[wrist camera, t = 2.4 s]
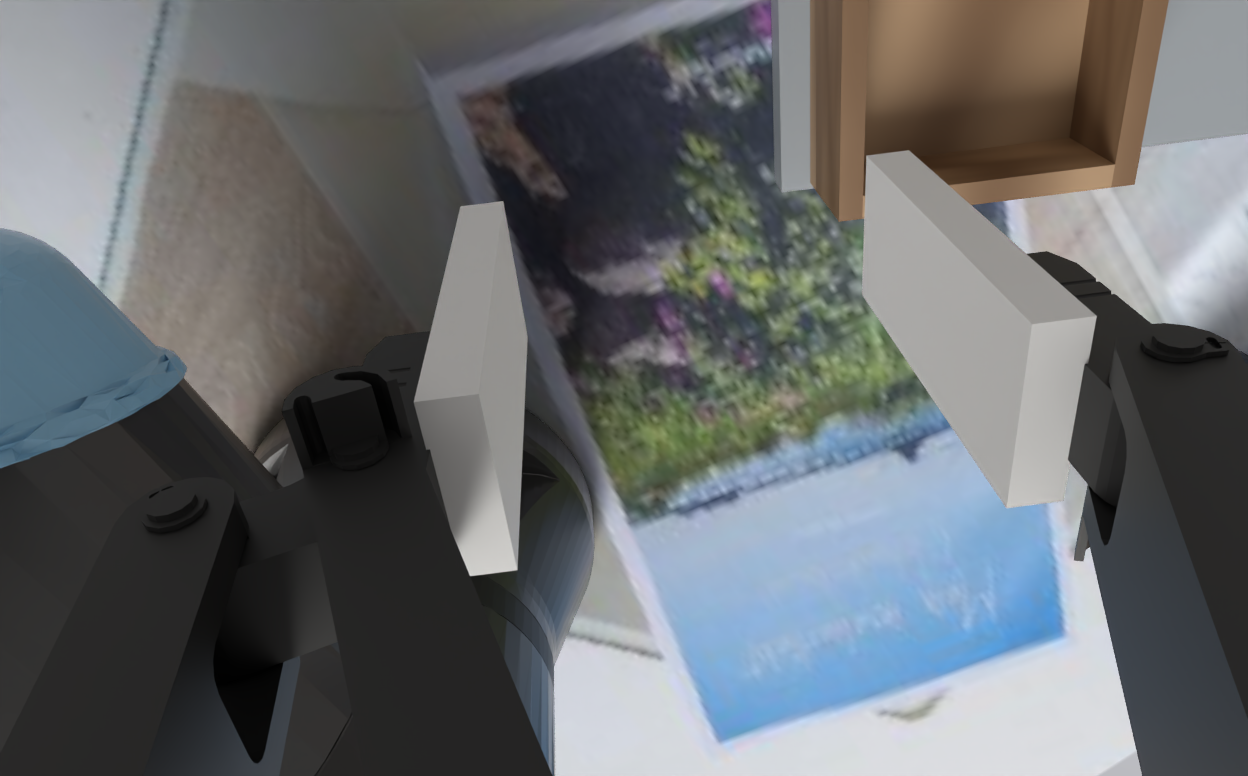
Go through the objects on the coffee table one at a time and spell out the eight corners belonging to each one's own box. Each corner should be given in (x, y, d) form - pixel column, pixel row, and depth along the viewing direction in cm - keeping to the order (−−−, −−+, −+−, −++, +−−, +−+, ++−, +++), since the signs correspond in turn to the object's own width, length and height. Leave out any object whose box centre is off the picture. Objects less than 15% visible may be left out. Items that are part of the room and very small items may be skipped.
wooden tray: (810, 183, 33) (838, 221, 29) (809, -122, 28) (844, -117, 25) (1076, 149, 33) (1134, 184, 30) (1123, -161, 28) (1199, -161, 25)
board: (774, 181, 34) (808, 233, 30) (768, -129, 29) (808, -122, 24) (1367, 107, 34) (1490, 148, 30) (1466, -216, 29) (1634, -225, 24)
